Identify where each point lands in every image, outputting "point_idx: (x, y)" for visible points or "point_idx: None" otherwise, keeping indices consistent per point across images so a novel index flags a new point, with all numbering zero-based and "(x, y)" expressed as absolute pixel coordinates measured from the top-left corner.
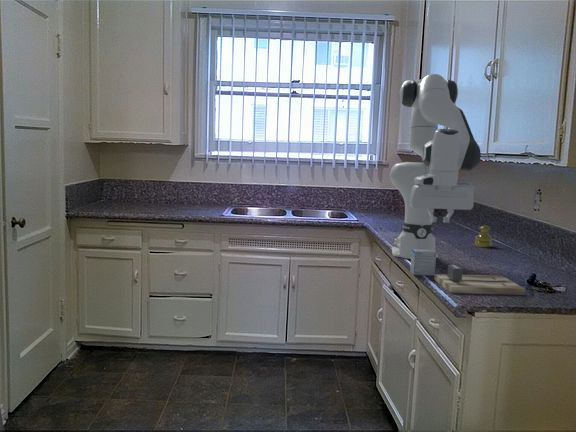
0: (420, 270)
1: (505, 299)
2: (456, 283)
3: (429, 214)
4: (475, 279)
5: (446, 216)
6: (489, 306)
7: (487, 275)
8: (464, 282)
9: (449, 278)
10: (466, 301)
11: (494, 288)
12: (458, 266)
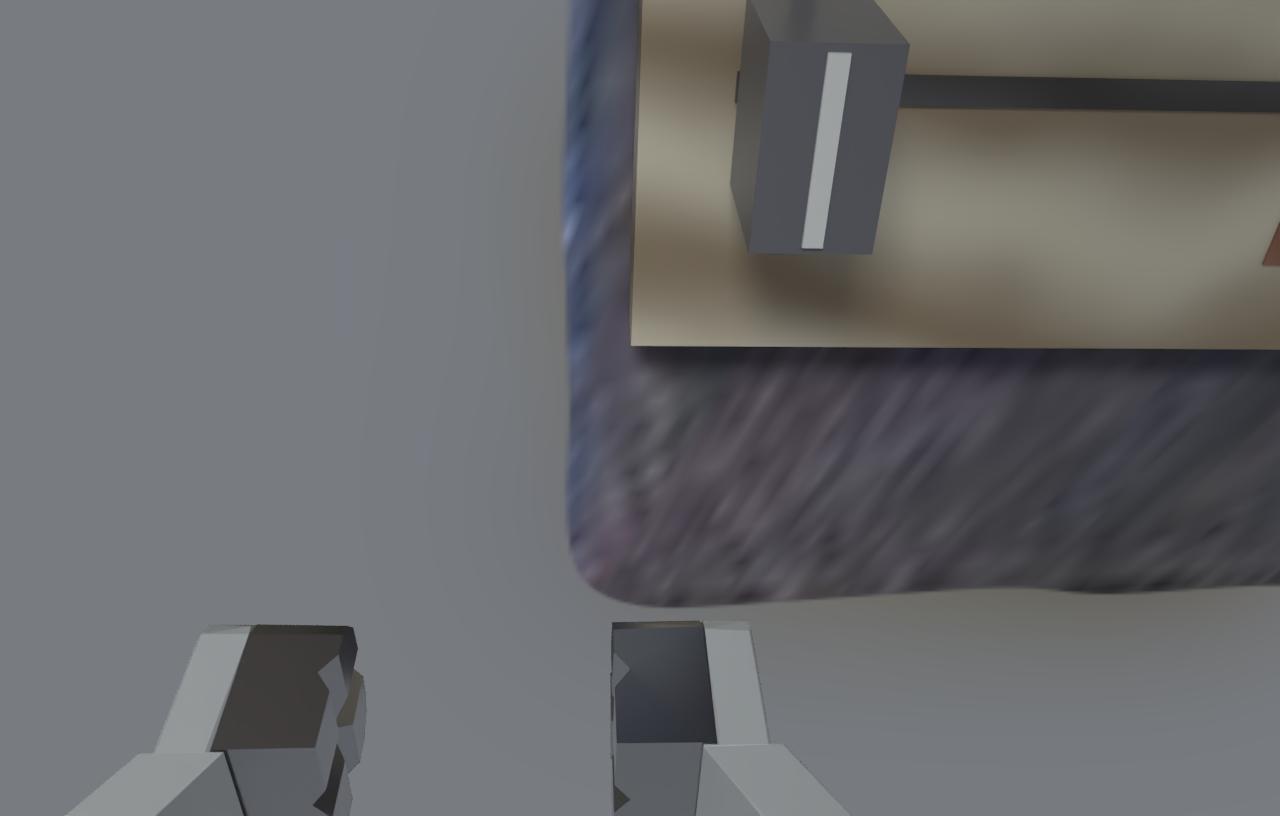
0: None
1: (1051, 446)
2: None
3: (76, 811)
4: (1110, 21)
5: (708, 789)
6: (795, 596)
7: None
8: None
9: None
10: (671, 515)
11: (1081, 344)
12: (889, 122)
